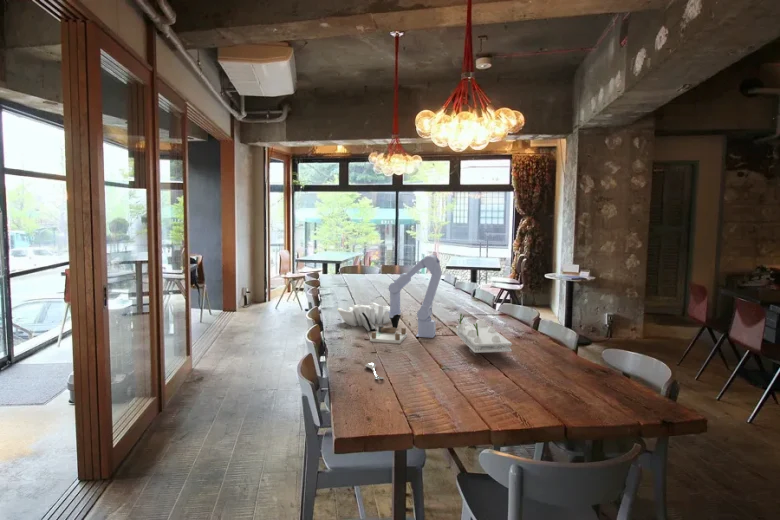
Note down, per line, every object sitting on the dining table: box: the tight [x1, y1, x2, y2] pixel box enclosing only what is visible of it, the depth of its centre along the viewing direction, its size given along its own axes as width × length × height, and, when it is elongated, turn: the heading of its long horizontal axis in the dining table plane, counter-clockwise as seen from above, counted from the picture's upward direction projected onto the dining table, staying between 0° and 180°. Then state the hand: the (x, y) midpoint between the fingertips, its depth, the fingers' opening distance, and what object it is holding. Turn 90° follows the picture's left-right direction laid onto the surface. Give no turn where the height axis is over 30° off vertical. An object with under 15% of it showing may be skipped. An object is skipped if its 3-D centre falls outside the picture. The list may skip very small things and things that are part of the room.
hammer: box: [377, 325, 397, 333], centre depth 257 cm, size 9×3×3 cm, turn 74°
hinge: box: [359, 312, 377, 332], centre depth 273 cm, size 17×5×10 cm, turn 15°
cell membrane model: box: [454, 313, 513, 357], centre depth 225 cm, size 35×21×17 cm, turn 6°
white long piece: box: [364, 362, 384, 380], centre depth 193 cm, size 20×4×5 cm
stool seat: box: [369, 327, 408, 344], centre depth 250 cm, size 16×16×4 cm
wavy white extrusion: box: [337, 302, 390, 327], centre depth 289 cm, size 35×16×11 cm, turn 108°
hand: (395, 328), depth 261 cm, fingers closed
